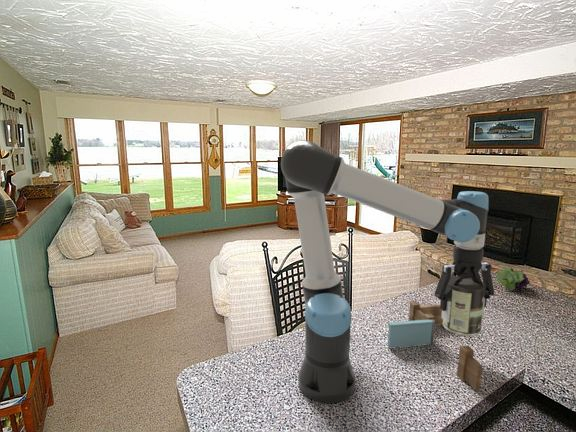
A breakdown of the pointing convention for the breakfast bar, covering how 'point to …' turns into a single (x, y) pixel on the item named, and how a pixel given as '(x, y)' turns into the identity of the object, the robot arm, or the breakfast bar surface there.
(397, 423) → the breakfast bar surface
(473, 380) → the fence
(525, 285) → the green and purple plant
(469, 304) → the coffee can
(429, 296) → the breakfast bar surface
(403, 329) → the light blue flat block
